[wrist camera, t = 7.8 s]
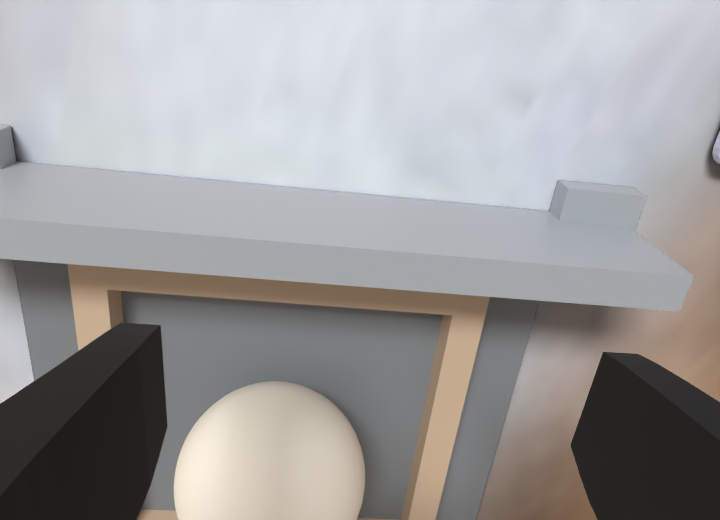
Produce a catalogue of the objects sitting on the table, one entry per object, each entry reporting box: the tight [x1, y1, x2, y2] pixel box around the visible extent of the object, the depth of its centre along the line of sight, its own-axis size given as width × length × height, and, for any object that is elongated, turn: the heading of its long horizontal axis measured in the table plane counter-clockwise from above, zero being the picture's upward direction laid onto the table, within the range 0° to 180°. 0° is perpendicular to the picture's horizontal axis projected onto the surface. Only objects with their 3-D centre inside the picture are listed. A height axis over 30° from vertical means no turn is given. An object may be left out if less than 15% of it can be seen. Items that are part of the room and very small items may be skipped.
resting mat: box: [13, 260, 539, 520], centre depth 19 cm, size 16×12×2 cm
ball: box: [174, 381, 365, 520], centre depth 16 cm, size 6×6×6 cm
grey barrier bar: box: [0, 125, 694, 312], centre depth 14 cm, size 20×3×4 cm, turn 83°
